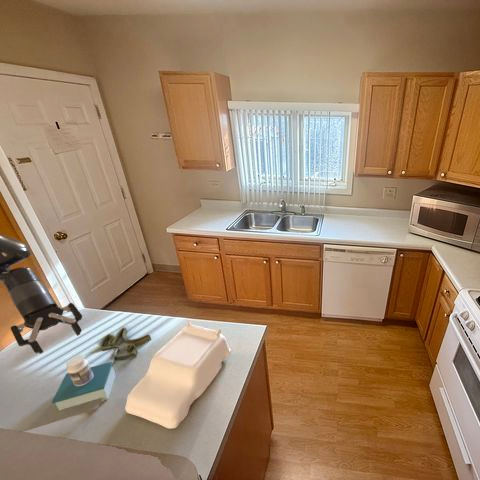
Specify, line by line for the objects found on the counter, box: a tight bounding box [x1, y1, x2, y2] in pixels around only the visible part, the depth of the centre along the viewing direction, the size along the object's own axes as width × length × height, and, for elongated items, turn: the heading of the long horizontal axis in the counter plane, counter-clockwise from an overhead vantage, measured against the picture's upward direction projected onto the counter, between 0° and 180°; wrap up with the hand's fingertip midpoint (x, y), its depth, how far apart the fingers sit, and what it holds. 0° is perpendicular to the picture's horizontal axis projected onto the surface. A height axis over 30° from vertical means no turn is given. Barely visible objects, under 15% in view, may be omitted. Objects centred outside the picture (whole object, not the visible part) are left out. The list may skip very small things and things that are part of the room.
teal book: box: [51, 361, 117, 411], centre depth 80 cm, size 12×10×6 cm
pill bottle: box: [65, 354, 94, 386], centre depth 78 cm, size 5×5×8 cm
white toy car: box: [124, 320, 232, 430], centre depth 85 cm, size 19×30×13 cm, turn 165°
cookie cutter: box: [99, 327, 152, 361], centre depth 99 cm, size 18×12×2 cm, turn 75°
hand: (61, 343), depth 77 cm, fingers open, 8 cm apart
